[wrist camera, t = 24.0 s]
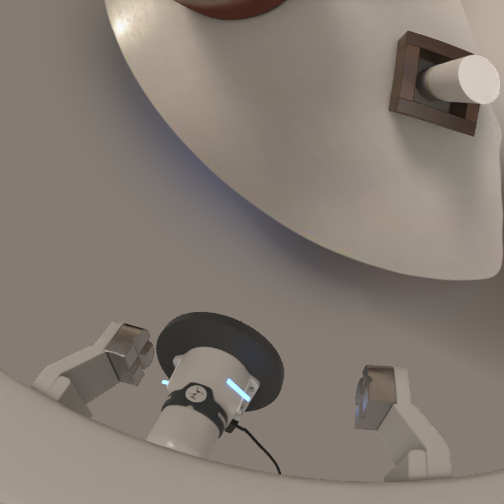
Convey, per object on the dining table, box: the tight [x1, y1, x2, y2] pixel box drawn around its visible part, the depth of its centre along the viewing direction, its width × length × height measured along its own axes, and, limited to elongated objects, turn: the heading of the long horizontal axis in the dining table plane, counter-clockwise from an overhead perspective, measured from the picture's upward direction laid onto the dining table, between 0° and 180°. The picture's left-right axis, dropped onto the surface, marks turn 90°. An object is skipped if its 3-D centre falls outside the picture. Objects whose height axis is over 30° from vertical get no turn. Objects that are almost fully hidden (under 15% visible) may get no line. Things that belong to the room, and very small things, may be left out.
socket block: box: [389, 31, 480, 137], centre depth 29 cm, size 10×10×6 cm
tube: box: [416, 55, 500, 104], centre depth 25 cm, size 4×4×15 cm
